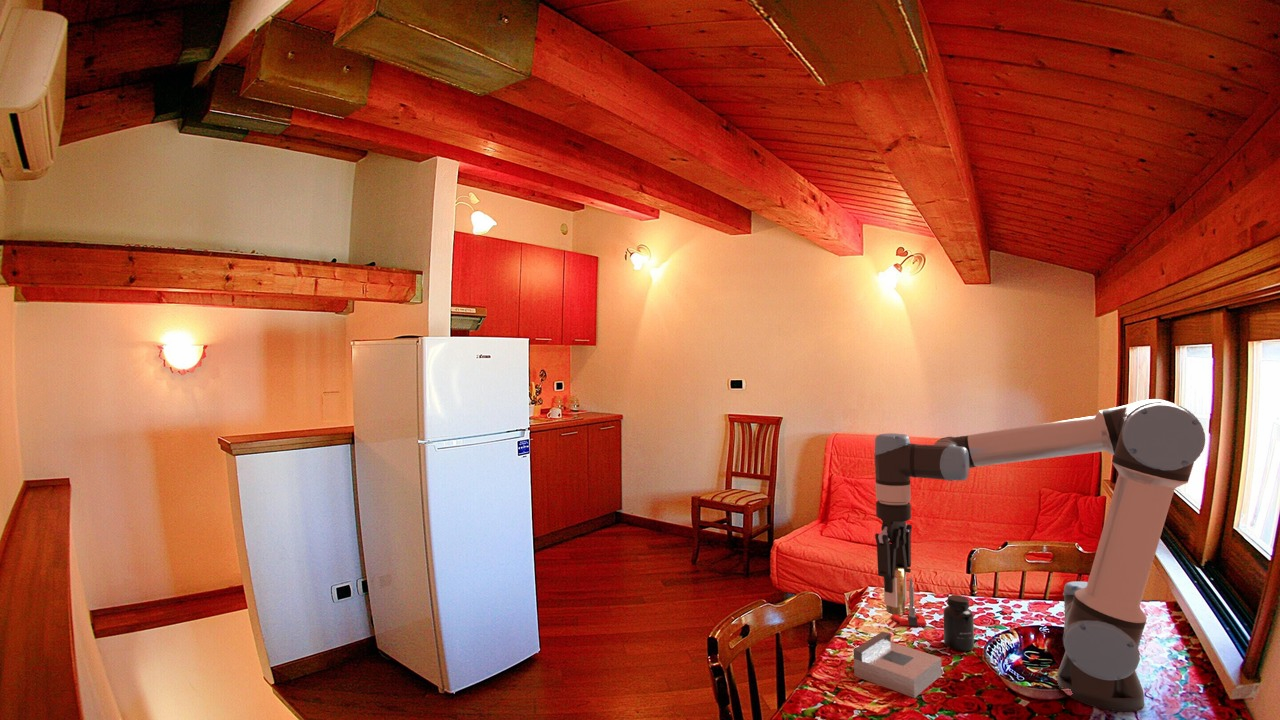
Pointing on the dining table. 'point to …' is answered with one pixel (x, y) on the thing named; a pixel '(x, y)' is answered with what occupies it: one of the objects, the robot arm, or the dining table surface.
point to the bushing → (898, 593)
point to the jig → (895, 665)
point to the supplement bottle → (958, 624)
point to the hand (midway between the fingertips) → (895, 602)
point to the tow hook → (910, 612)
